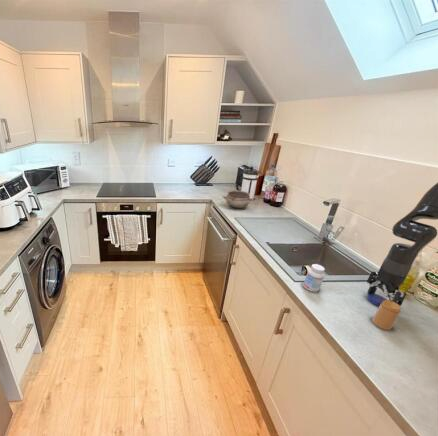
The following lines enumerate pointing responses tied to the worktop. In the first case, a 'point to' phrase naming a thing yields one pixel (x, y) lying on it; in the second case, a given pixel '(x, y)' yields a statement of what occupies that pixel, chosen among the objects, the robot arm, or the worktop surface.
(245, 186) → the coffee press
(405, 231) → the robot arm
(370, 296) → the lid
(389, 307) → the jar
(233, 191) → the cooking pot
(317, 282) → the pill bottle
